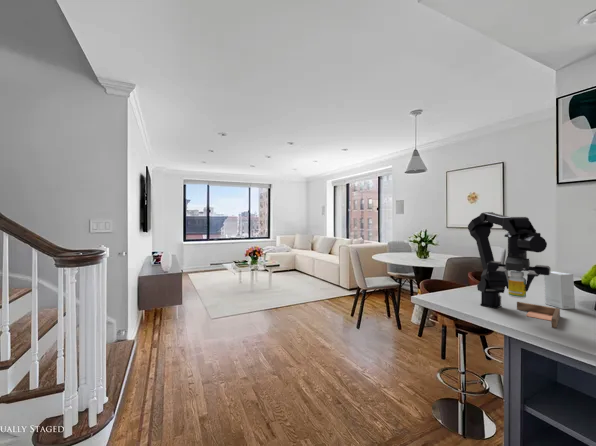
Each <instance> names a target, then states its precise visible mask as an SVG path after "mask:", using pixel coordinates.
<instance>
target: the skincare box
mask: <svg viewBox="0 0 596 446" xmlns="http://www.w3.org/2000/svg"><path fill="white" fill-rule="evenodd" d="M543 278H544V279H543V281H544V298H545V301H544V302H545V305H548V306H550V307H554V308H559V309H560V310H561V309H562V310H575V309H576V300H575V298H576V297H575V296H576V295H575V283H574V273H568V272H560V271H554V270H553V271H551V273H550V275H543Z"/></svg>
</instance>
